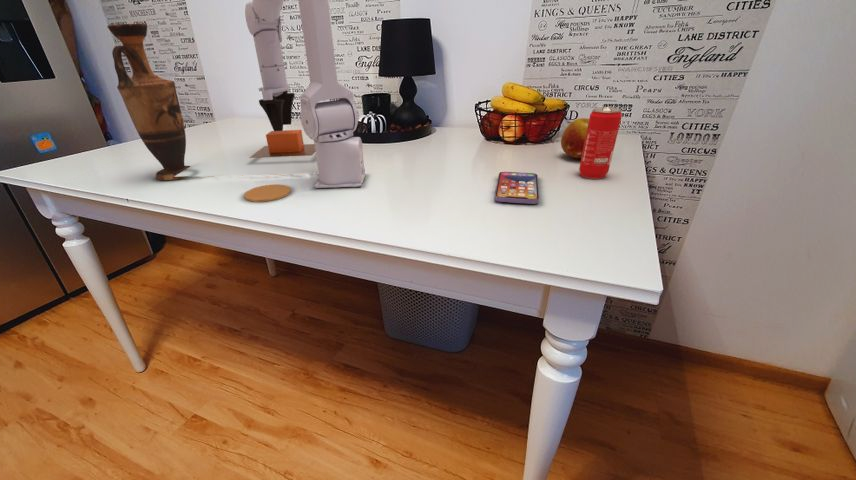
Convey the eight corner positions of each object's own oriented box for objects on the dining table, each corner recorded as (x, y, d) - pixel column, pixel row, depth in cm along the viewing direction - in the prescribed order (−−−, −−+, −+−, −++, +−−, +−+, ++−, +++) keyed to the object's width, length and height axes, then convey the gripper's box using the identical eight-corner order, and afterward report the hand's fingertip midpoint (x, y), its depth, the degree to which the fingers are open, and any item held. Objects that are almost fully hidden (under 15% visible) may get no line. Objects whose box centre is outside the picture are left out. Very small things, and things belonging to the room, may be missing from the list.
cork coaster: (295, 185, 82) (295, 183, 82) (283, 201, 75) (283, 199, 75) (253, 187, 83) (253, 185, 83) (237, 202, 76) (236, 200, 75)
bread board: (322, 149, 108) (322, 143, 108) (313, 161, 98) (312, 155, 97) (265, 151, 110) (264, 146, 109) (250, 163, 99) (248, 157, 99)
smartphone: (537, 177, 79) (538, 205, 66) (498, 175, 80) (493, 202, 68) (537, 173, 78) (539, 200, 66) (499, 171, 80) (494, 197, 68)
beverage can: (578, 178, 77) (591, 112, 71) (578, 170, 81) (590, 107, 75) (607, 180, 75) (624, 112, 69) (606, 172, 79) (622, 107, 73)
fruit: (603, 164, 84) (613, 124, 80) (557, 162, 87) (564, 123, 82) (601, 152, 91) (609, 115, 87) (558, 151, 94) (564, 115, 90)
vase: (188, 166, 100) (144, 25, 85) (209, 173, 94) (165, 22, 78) (143, 177, 94) (86, 26, 78) (163, 185, 87) (104, 23, 72)
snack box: (304, 147, 105) (301, 129, 102) (300, 151, 101) (296, 133, 98) (274, 148, 105) (271, 131, 103) (269, 153, 102) (265, 134, 99)
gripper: (265, 65, 99) (276, 122, 107) (243, 69, 87) (257, 134, 94) (292, 63, 99) (301, 121, 106) (275, 68, 87) (286, 133, 94)
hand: (282, 127), depth 100 cm, fingers open, 7 cm apart
